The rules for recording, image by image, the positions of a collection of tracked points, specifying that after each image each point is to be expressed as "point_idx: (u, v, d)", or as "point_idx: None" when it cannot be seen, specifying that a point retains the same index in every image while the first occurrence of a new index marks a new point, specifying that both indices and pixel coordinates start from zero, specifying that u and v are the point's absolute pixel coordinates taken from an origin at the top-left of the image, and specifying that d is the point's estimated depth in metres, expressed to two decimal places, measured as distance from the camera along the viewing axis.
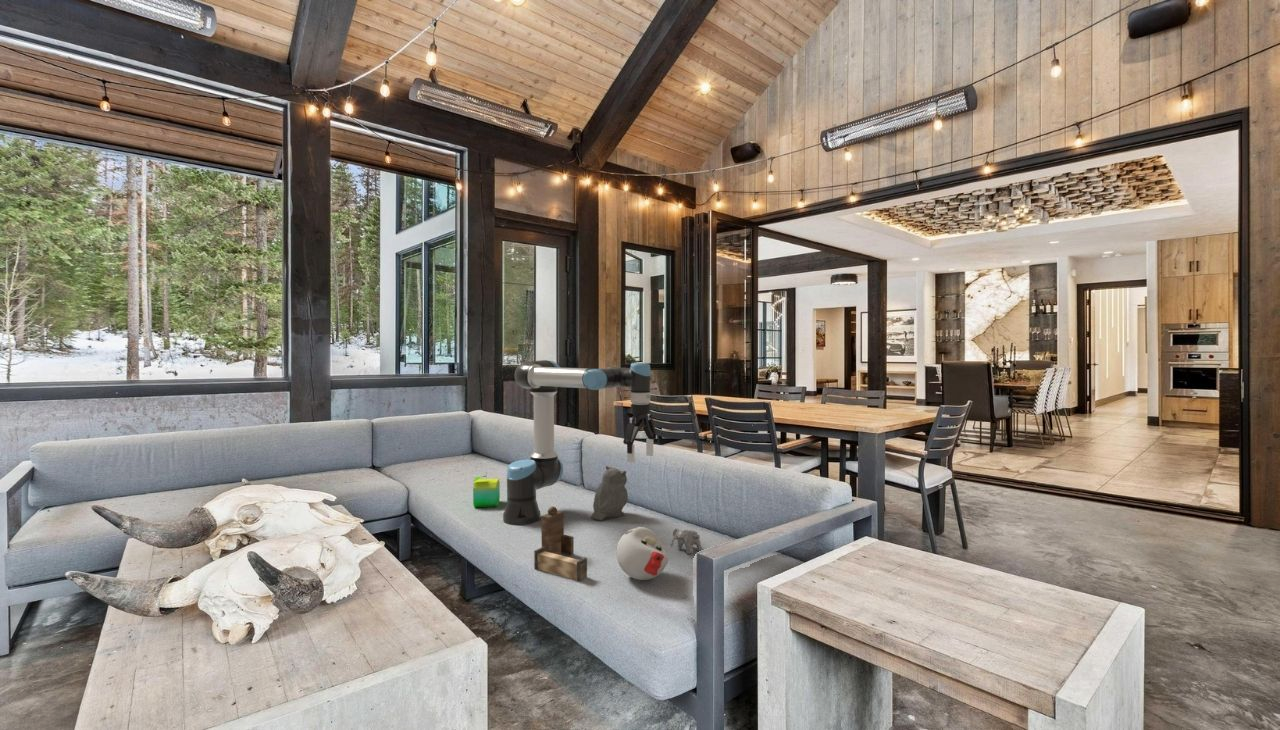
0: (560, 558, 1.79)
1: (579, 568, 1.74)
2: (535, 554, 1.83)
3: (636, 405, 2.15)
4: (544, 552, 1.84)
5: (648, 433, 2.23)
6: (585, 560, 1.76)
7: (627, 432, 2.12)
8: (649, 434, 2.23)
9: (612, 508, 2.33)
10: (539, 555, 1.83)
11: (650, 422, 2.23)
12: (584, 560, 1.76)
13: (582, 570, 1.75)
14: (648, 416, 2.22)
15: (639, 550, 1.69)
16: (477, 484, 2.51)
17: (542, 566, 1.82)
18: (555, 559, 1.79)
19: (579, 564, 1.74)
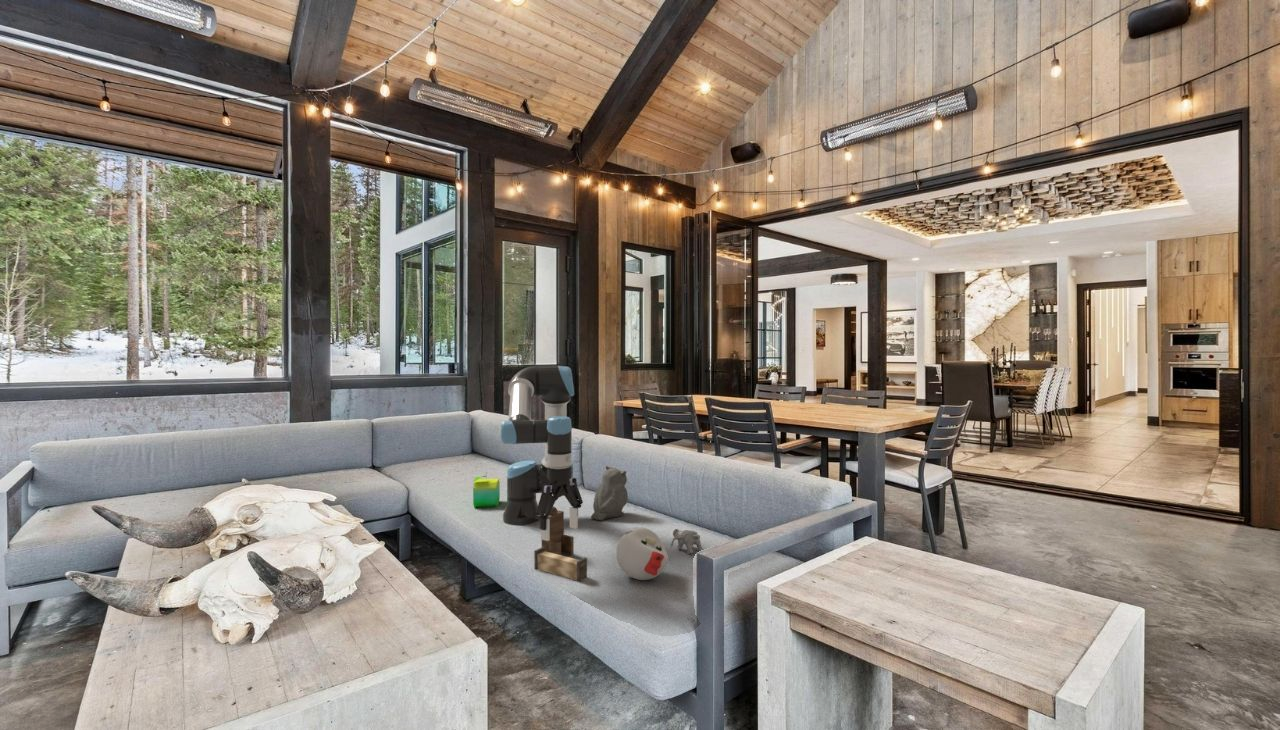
0: (560, 558, 1.79)
1: (579, 568, 1.74)
2: (535, 554, 1.83)
3: (553, 469, 1.76)
4: (544, 552, 1.84)
5: (571, 501, 1.84)
6: (585, 560, 1.76)
7: (540, 504, 1.72)
8: (572, 502, 1.84)
9: (612, 508, 2.33)
10: (539, 555, 1.83)
11: (573, 487, 1.84)
12: (584, 560, 1.76)
13: (582, 570, 1.75)
14: (571, 480, 1.83)
15: (639, 550, 1.69)
16: (477, 484, 2.51)
17: (542, 566, 1.82)
18: (555, 559, 1.79)
19: (579, 564, 1.74)
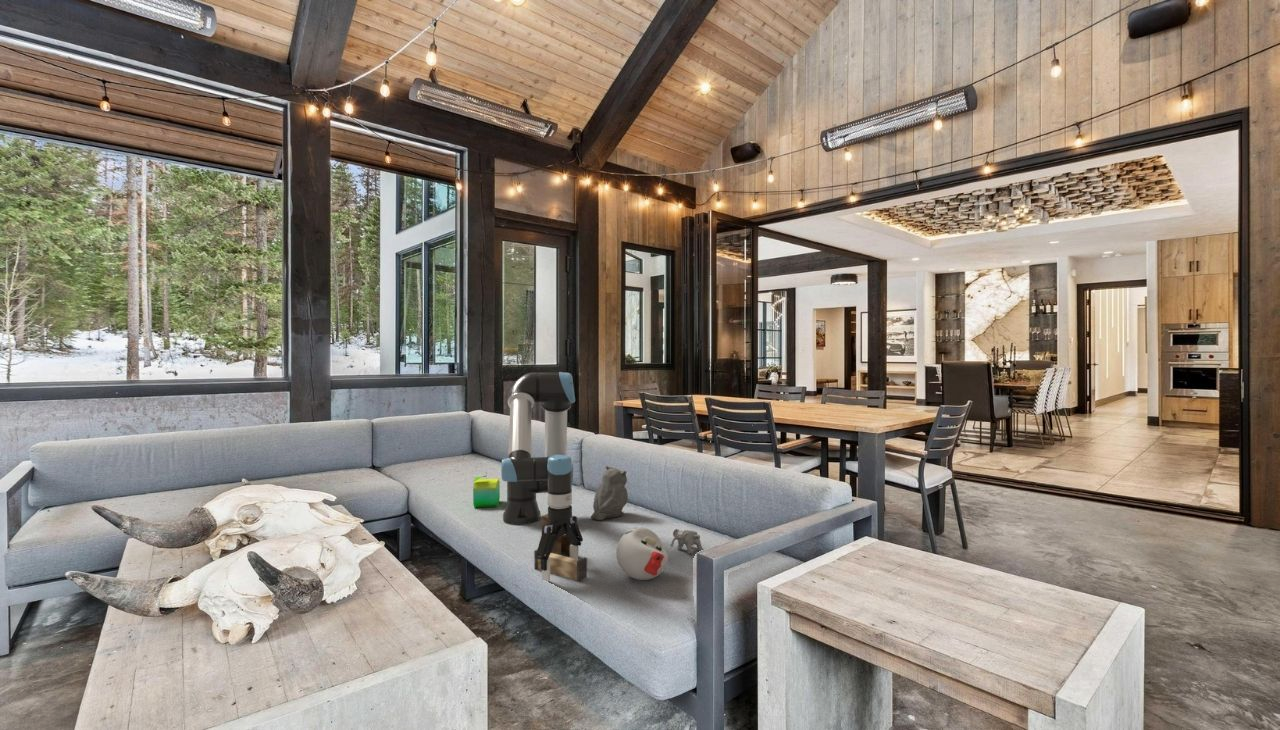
0: (560, 558, 1.79)
1: (579, 568, 1.74)
2: (535, 554, 1.83)
3: (553, 509, 1.76)
4: None
5: (571, 539, 1.84)
6: (585, 560, 1.76)
7: (540, 545, 1.73)
8: (572, 540, 1.84)
9: (612, 508, 2.33)
10: None
11: (574, 525, 1.84)
12: (584, 560, 1.76)
13: (582, 570, 1.75)
14: (571, 519, 1.84)
15: (639, 550, 1.69)
16: (477, 484, 2.51)
17: None
18: (555, 559, 1.79)
19: (579, 564, 1.74)
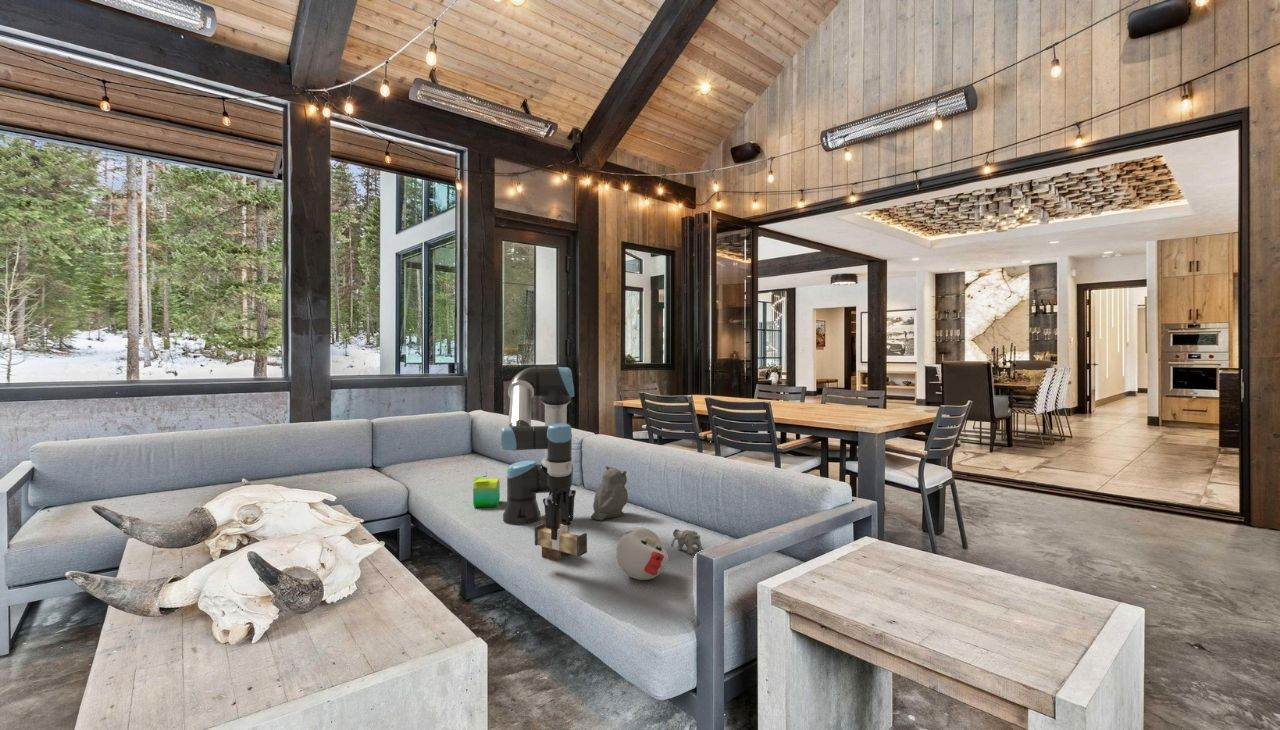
0: (560, 534, 1.79)
1: (579, 543, 1.74)
2: (535, 530, 1.83)
3: (553, 477, 1.76)
4: (544, 528, 1.84)
5: (564, 514, 1.81)
6: (585, 535, 1.76)
7: (547, 516, 1.75)
8: (564, 516, 1.81)
9: (612, 508, 2.33)
10: (539, 531, 1.83)
11: (570, 499, 1.83)
12: (584, 535, 1.76)
13: (582, 546, 1.75)
14: (570, 491, 1.83)
15: (639, 550, 1.69)
16: (477, 484, 2.51)
17: (542, 542, 1.82)
18: None
19: (579, 539, 1.74)
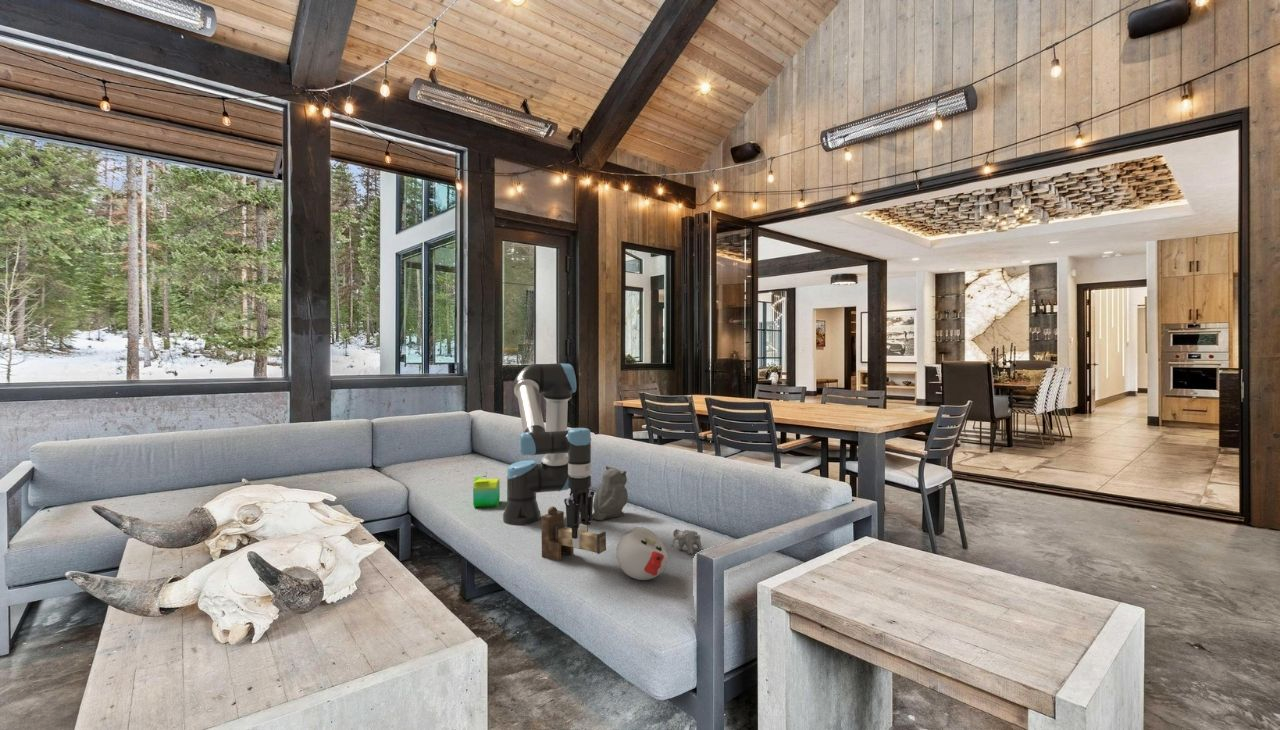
0: (580, 532, 1.88)
1: (599, 541, 1.83)
2: (556, 530, 1.92)
3: (573, 478, 1.86)
4: (564, 528, 1.94)
5: (583, 514, 1.91)
6: (604, 534, 1.86)
7: (568, 516, 1.85)
8: (584, 516, 1.91)
9: (612, 508, 2.33)
10: (560, 530, 1.92)
11: (589, 500, 1.93)
12: (603, 534, 1.85)
13: (601, 544, 1.84)
14: (589, 492, 1.93)
15: (639, 550, 1.69)
16: (477, 484, 2.51)
17: (562, 541, 1.91)
18: None
19: (599, 537, 1.83)
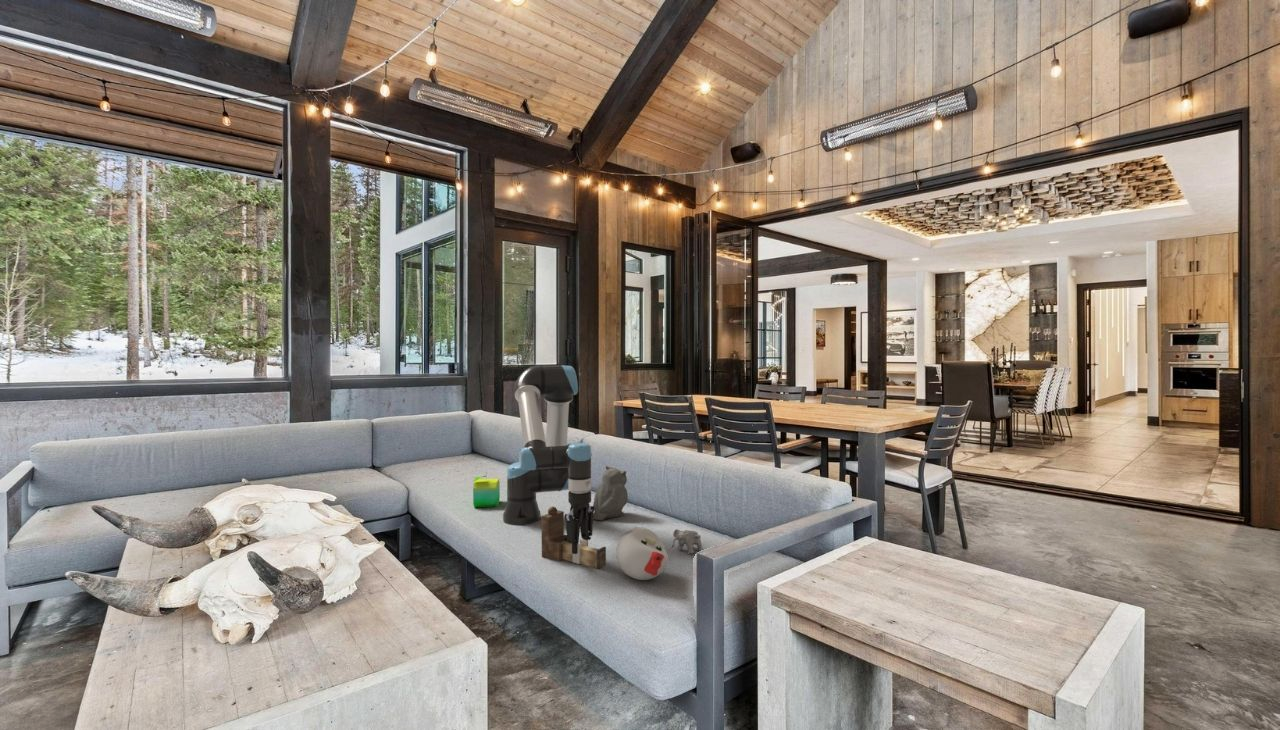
0: (580, 547, 1.89)
1: (599, 556, 1.83)
2: None
3: (574, 494, 1.86)
4: (564, 542, 1.94)
5: (583, 529, 1.91)
6: (604, 549, 1.86)
7: (568, 531, 1.85)
8: (584, 531, 1.91)
9: (612, 508, 2.33)
10: None
11: (589, 515, 1.93)
12: (603, 549, 1.85)
13: (601, 559, 1.85)
14: (589, 507, 1.93)
15: (639, 550, 1.69)
16: (477, 484, 2.51)
17: (562, 555, 1.92)
18: None
19: (599, 552, 1.83)
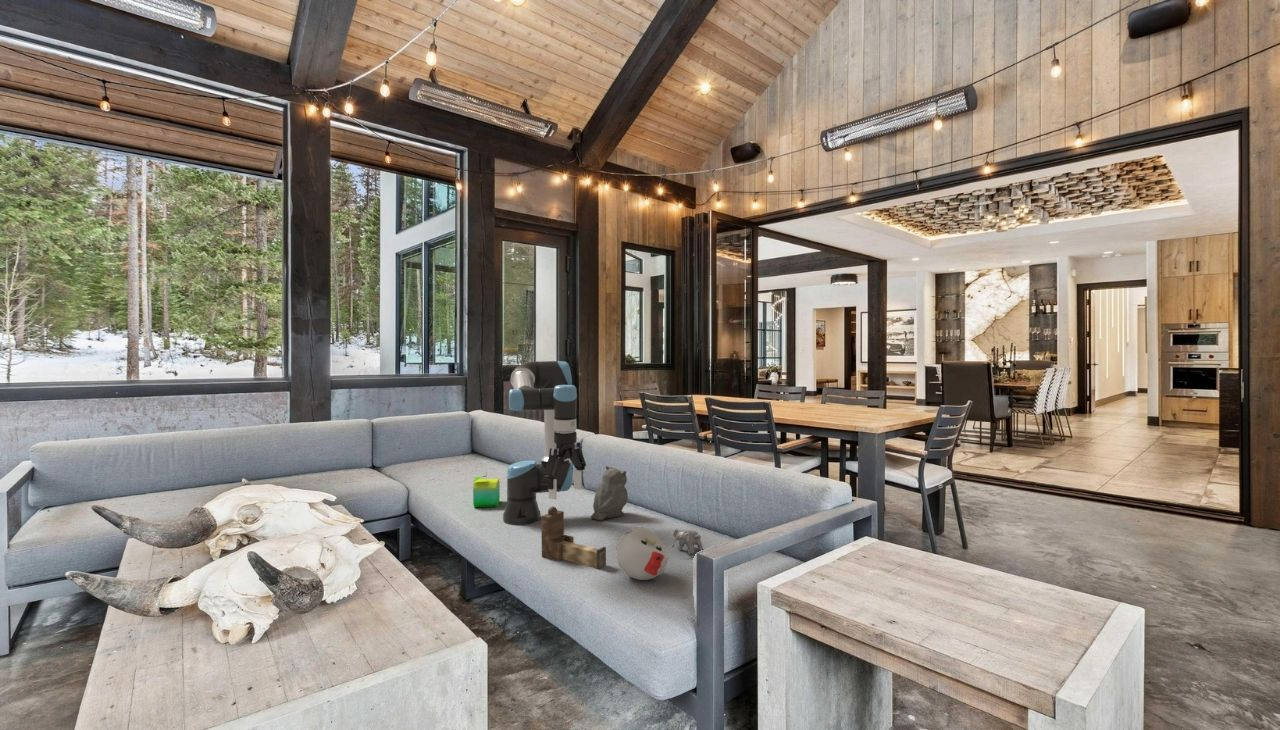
0: (580, 547, 1.89)
1: (599, 556, 1.83)
2: None
3: (559, 434, 1.89)
4: (564, 542, 1.94)
5: (575, 463, 1.97)
6: (604, 549, 1.86)
7: (548, 465, 1.86)
8: (577, 465, 1.98)
9: (612, 508, 2.33)
10: None
11: (578, 451, 1.98)
12: (603, 549, 1.85)
13: (601, 559, 1.85)
14: (575, 445, 1.97)
15: (639, 550, 1.68)
16: (477, 484, 2.51)
17: (562, 555, 1.92)
18: (575, 548, 1.89)
19: (599, 552, 1.83)
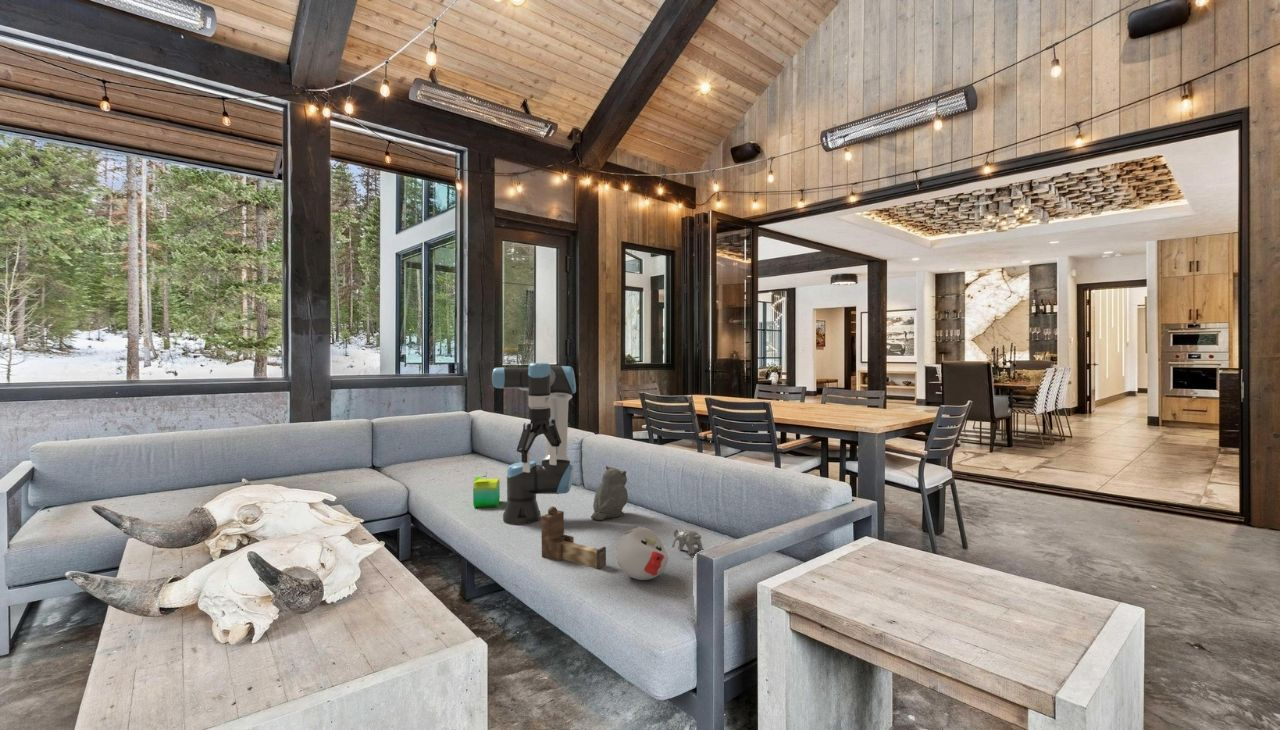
0: (580, 547, 1.89)
1: (599, 556, 1.83)
2: None
3: (533, 409, 1.95)
4: (564, 542, 1.94)
5: (550, 440, 2.03)
6: (604, 549, 1.86)
7: (521, 439, 1.92)
8: (551, 441, 2.04)
9: (612, 508, 2.33)
10: None
11: (553, 428, 2.04)
12: (603, 549, 1.85)
13: (601, 559, 1.85)
14: (550, 421, 2.03)
15: (639, 550, 1.69)
16: (477, 484, 2.51)
17: (562, 555, 1.92)
18: (575, 548, 1.89)
19: (599, 552, 1.83)
